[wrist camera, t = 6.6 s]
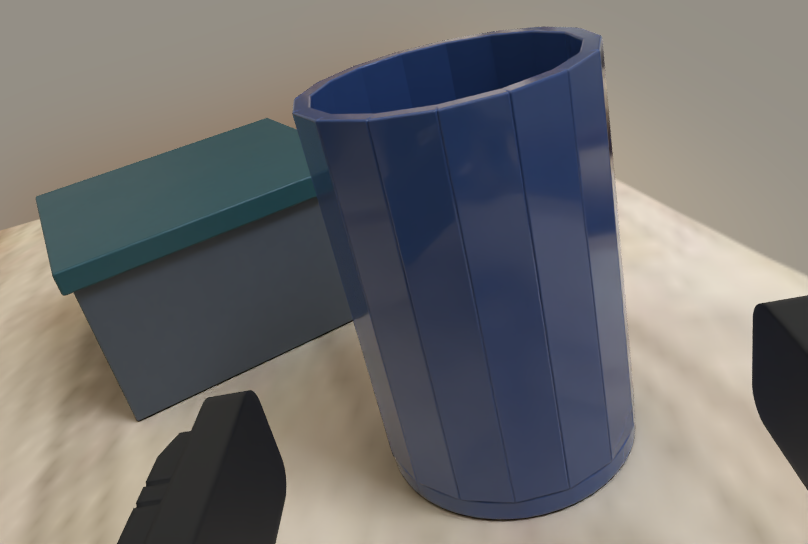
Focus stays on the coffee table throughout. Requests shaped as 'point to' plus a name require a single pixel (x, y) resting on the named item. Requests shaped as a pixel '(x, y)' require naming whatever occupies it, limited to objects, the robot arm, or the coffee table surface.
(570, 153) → the cup
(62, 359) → the coffee table surface
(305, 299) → the container
